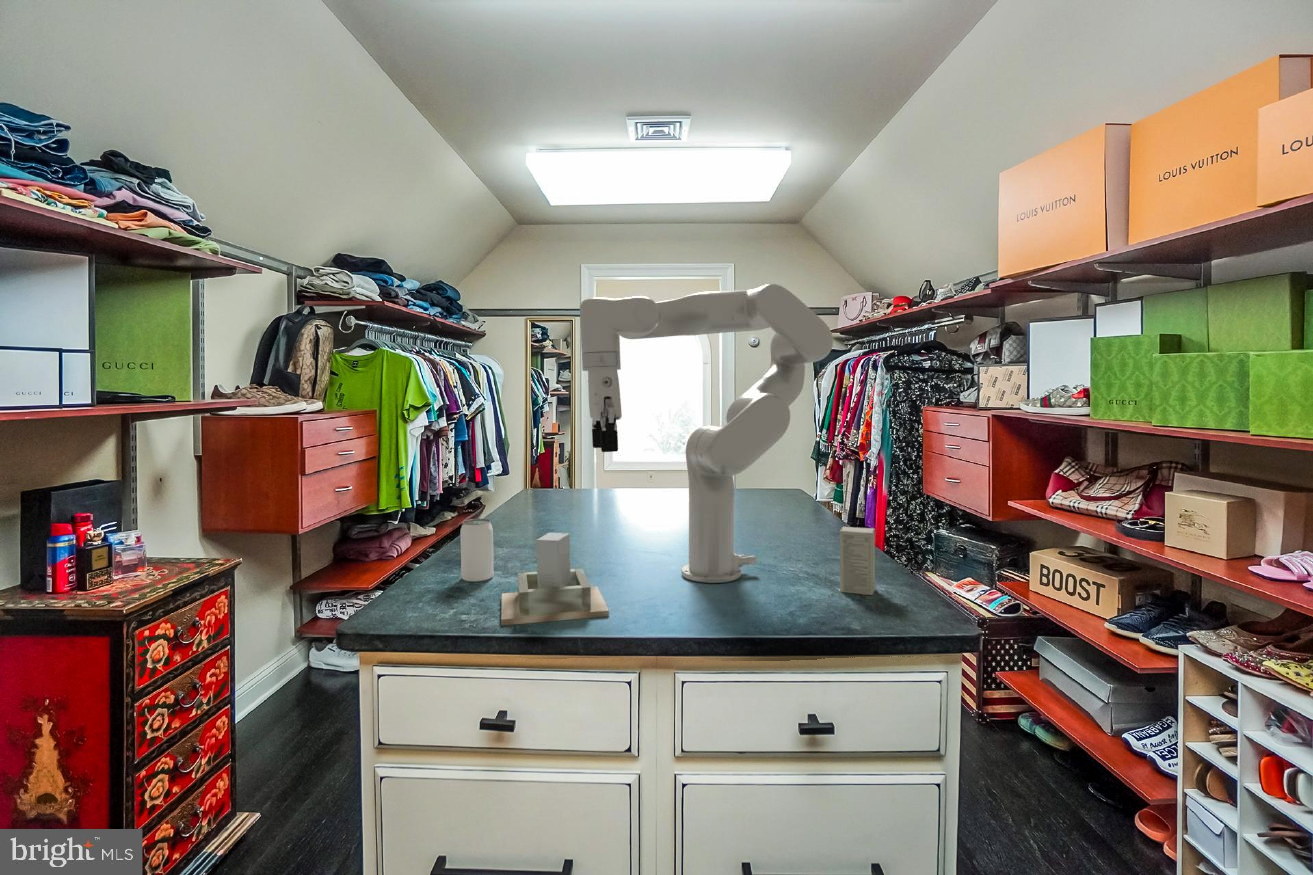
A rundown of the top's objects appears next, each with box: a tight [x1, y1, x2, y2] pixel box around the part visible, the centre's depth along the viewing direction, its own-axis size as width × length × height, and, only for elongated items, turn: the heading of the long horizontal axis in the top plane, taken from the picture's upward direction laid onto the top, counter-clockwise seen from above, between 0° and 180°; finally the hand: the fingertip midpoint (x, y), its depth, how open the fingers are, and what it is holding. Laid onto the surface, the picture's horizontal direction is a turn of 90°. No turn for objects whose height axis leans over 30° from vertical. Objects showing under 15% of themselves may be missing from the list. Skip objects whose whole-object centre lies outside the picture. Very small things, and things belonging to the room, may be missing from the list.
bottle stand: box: [500, 568, 610, 626], centre depth 111 cm, size 18×14×5 cm
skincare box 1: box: [535, 532, 571, 588], centre depth 111 cm, size 6×4×12 cm
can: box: [459, 518, 495, 583], centre depth 129 cm, size 6×6×12 cm
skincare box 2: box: [839, 526, 876, 596], centre depth 120 cm, size 6×4×12 cm
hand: (605, 449), depth 123 cm, fingers open, 9 cm apart
